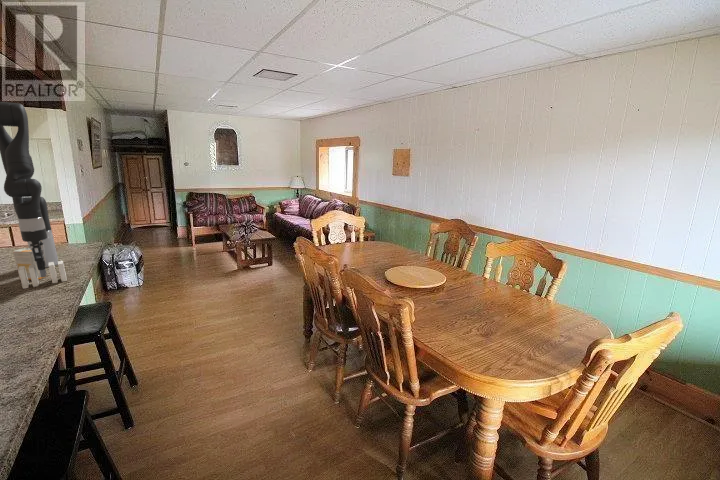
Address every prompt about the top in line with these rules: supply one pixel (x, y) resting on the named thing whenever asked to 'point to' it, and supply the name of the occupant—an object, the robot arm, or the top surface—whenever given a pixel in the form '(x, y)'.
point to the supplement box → (26, 261)
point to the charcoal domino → (42, 272)
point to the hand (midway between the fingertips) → (42, 267)
